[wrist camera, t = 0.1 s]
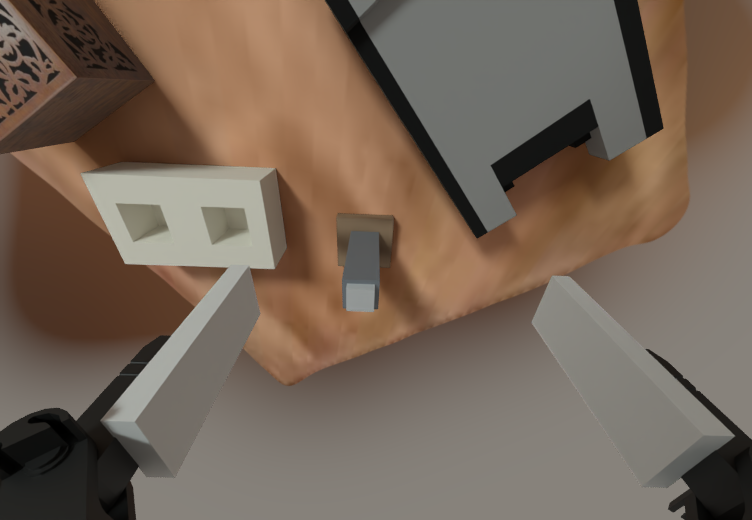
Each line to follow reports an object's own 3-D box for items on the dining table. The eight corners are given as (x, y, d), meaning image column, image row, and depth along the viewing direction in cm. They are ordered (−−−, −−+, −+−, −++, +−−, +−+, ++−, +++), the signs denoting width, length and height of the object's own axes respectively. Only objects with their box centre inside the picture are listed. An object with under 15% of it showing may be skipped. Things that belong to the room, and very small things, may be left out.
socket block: (121, 161, 37) (80, 173, 32) (275, 168, 37) (259, 180, 32) (156, 244, 43) (126, 265, 38) (287, 249, 43) (275, 270, 38)
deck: (337, 213, 40) (336, 217, 39) (393, 215, 40) (393, 219, 39) (339, 260, 44) (338, 265, 43) (389, 262, 45) (390, 267, 43)
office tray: (462, 216, 41) (480, 243, 34) (308, -25, 28) (285, -63, 21) (614, 121, 34) (674, 129, 27) (506, -254, 21) (570, -423, 14)
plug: (350, 230, 40) (341, 285, 29) (378, 232, 40) (379, 286, 29) (351, 255, 42) (341, 314, 31) (377, 256, 42) (377, 315, 31)
